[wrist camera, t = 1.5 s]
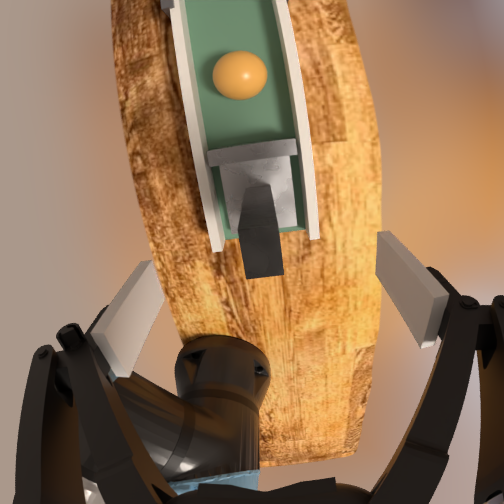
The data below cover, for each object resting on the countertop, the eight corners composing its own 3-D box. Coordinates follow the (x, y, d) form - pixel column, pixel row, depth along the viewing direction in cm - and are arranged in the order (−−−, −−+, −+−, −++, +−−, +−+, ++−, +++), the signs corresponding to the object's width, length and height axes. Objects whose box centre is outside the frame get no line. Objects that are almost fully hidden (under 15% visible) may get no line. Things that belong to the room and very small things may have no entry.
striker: (300, 222, 31) (325, 285, 19) (228, 231, 31) (210, 298, 20) (290, 137, 27) (315, 145, 15) (212, 148, 28) (178, 165, 16)
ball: (259, 107, 26) (259, 103, 21) (211, 96, 26) (202, 91, 21) (272, 63, 24) (274, 51, 19) (223, 53, 23) (216, 40, 19)
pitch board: (312, 223, 33) (319, 238, 29) (218, 236, 34) (212, 252, 29) (265, -52, 18) (266, -71, 14) (173, -37, 19) (163, -53, 15)
